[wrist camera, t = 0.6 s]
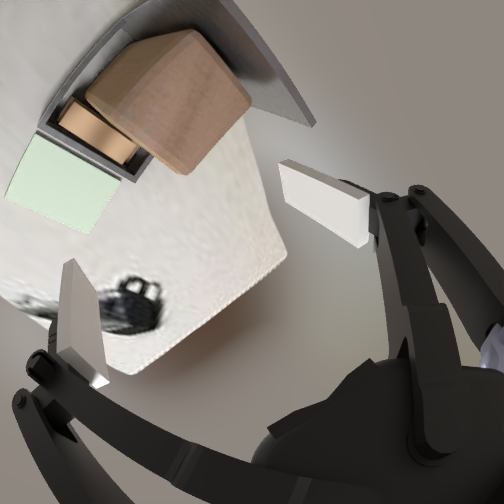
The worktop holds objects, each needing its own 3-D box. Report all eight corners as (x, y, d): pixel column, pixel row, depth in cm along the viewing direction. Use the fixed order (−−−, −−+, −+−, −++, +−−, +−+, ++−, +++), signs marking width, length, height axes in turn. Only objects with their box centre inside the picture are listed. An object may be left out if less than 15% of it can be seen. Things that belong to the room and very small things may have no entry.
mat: (4, 196, 28) (4, 198, 27) (35, 132, 27) (35, 133, 26) (88, 232, 41) (89, 234, 40) (120, 180, 40) (121, 181, 39)
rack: (38, 121, 26) (23, 188, 12) (119, 19, 24) (205, -30, 10) (127, 173, 40) (202, 266, 26) (196, 86, 38) (316, 122, 24)
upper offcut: (58, 121, 27) (58, 124, 25) (73, 100, 26) (74, 101, 25) (118, 159, 36) (122, 164, 34) (131, 141, 35) (136, 145, 34)
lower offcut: (56, 117, 28) (56, 120, 26) (70, 95, 28) (71, 97, 26) (123, 158, 38) (127, 163, 37) (137, 139, 38) (141, 143, 37)
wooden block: (175, 82, 36) (260, 102, 24) (130, 133, 36) (188, 183, 25) (131, 40, 27) (197, 23, 16) (80, 95, 28) (103, 118, 17)
